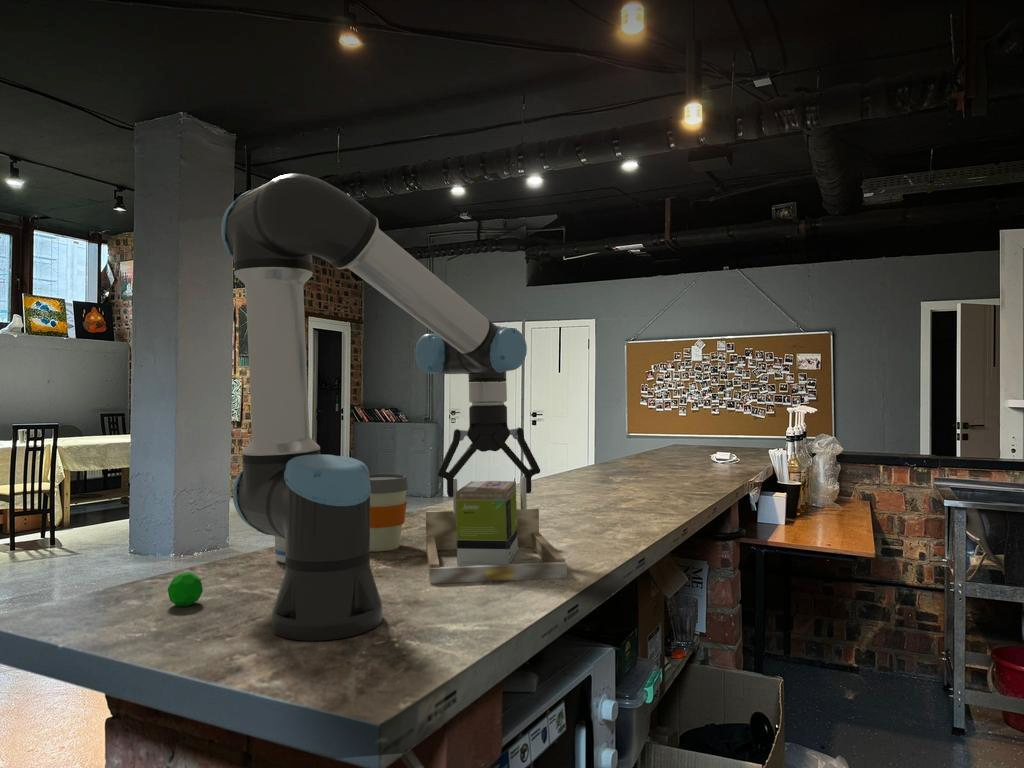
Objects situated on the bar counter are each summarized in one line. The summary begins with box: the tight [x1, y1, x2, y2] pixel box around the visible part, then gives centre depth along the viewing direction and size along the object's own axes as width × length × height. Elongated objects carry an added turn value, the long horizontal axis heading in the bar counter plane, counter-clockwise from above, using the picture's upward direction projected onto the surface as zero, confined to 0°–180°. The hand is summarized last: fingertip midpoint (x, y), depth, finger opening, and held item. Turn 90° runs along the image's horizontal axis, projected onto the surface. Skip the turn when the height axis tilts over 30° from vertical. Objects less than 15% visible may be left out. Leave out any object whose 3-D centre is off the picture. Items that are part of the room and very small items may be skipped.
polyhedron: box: [167, 572, 204, 607], centre depth 109 cm, size 5×5×5 cm
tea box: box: [456, 480, 519, 566], centre depth 139 cm, size 15×10×15 cm, turn 172°
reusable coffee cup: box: [369, 473, 409, 552], centre depth 151 cm, size 13×13×15 cm
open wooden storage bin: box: [425, 507, 568, 585], centre depth 136 cm, size 24×28×8 cm
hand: (489, 511), depth 139 cm, fingers open, 13 cm apart
